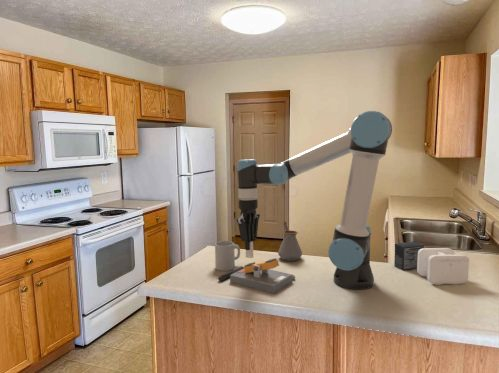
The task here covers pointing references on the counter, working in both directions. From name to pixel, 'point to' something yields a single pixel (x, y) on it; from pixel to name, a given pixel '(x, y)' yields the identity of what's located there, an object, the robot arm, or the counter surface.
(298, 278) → the counter surface
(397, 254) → the small box
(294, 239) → the coffee pot
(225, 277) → the black rounded bar
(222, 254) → the mug
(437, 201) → the counter surface
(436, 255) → the cable organizer
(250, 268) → the lever
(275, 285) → the panel
